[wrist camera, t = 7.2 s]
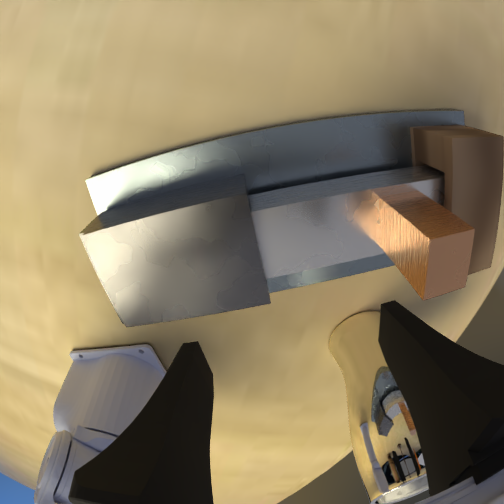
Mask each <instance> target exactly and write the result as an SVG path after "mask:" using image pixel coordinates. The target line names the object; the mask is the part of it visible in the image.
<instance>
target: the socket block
mask: <svg viewBox="0 0 504 504" xmlns="http://www.w3.org/2000/svg"><path fill="white" fill-rule="evenodd" d="M410 134H411V147H412V164H413V167H416V166H424V165H429V166H431V167H433V168H436V169H438V170H440V171H442V172H444V173H445V188H444V208H446V209H447V210H449V211H450V212H452V213H453V214H455V215H456V216H458V217H459V218H460V219H462V220H463V221H465V222H466V223H467V224H469V225H470V226H472V227H473V228H474V229H475V232H474V239H473V246H472V253H471V259H470V265H469V270H468V275H469V274H472V273H475V272H478V271H481V270H484V269H487V268H490V267H491V263H492V258H493V253H494V247H495V242H496V236H497V229H498V222H499V214H500V205H501V195H502V181H503V157H504V137H503V136H500V135H497V134H493V133H490V132H486V131H483V130H479V129H475V128H471V127H467V126H463V125H435V126H417V127H410Z"/></svg>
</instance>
